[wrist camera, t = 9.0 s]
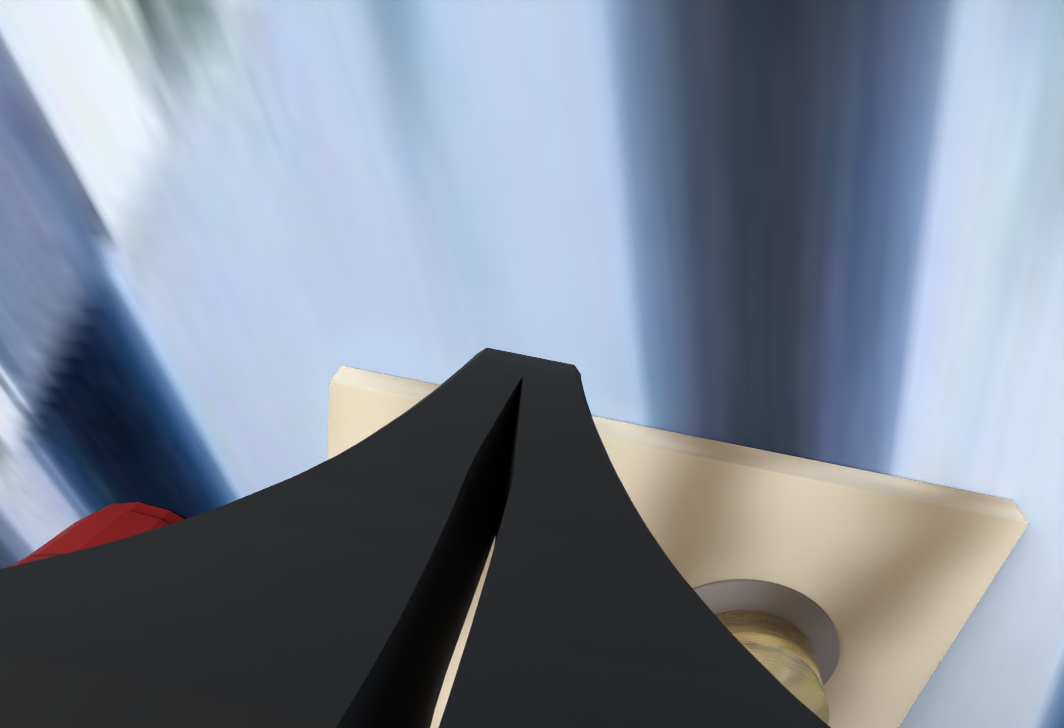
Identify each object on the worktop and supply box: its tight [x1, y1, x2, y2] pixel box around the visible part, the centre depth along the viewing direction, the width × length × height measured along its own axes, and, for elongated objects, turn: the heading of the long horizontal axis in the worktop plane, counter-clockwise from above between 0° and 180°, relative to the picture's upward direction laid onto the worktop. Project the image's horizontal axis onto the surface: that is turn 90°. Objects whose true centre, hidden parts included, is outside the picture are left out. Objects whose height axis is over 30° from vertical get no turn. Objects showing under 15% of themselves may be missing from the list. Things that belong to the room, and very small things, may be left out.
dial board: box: [328, 366, 1029, 728], centre depth 26 cm, size 20×21×1 cm
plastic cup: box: [9, 502, 184, 567], centre depth 22 cm, size 11×11×12 cm
